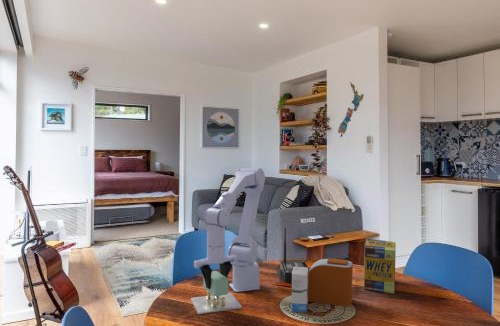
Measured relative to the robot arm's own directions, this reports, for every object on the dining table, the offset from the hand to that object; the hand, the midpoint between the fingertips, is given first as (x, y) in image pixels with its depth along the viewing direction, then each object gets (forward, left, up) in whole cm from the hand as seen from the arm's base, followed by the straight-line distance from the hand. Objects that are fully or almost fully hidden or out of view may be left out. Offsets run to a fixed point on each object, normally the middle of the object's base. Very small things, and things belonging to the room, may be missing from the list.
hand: (215, 286), depth 120 cm
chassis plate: (0, 0, -6) cm, 6 cm away
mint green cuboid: (0, 0, -2) cm, 2 cm away
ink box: (-25, +11, -6) cm, 28 cm away
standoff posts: (0, 0, -6) cm, 6 cm away
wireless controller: (-38, -19, -6) cm, 43 cm away
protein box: (-63, +3, -6) cm, 63 cm away
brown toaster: (-37, +9, -6) cm, 39 cm away
